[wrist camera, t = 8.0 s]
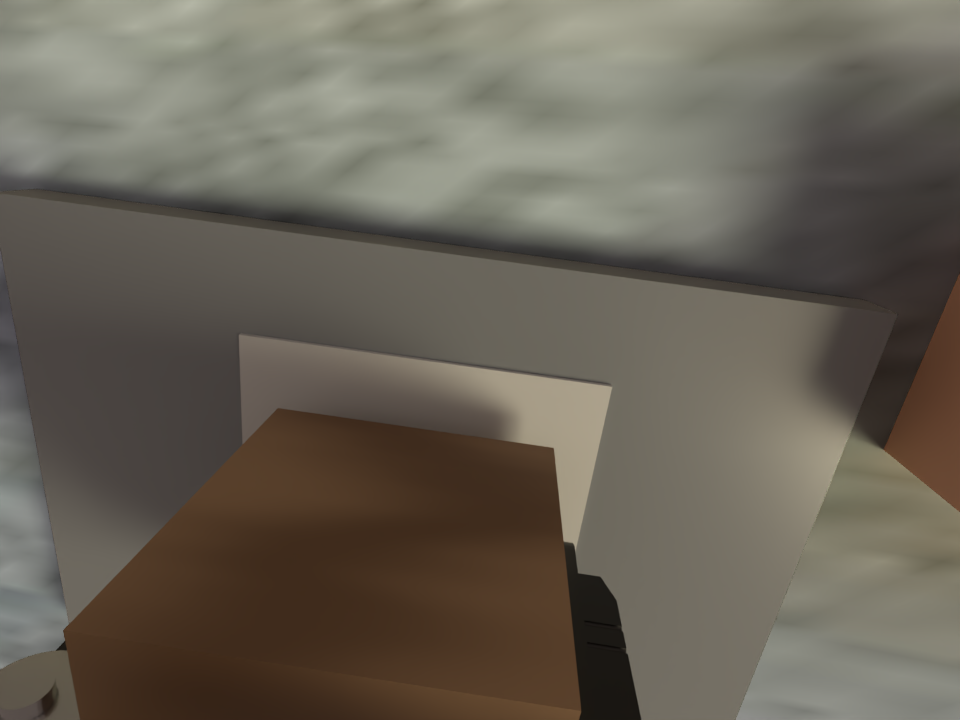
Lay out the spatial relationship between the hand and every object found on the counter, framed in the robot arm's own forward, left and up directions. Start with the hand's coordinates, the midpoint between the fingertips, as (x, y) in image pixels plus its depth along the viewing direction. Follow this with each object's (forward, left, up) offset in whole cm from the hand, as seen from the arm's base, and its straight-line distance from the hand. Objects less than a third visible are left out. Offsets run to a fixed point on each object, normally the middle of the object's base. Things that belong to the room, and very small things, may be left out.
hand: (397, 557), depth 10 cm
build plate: (0, 0, -2) cm, 2 cm away
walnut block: (0, 0, -1) cm, 1 cm away
